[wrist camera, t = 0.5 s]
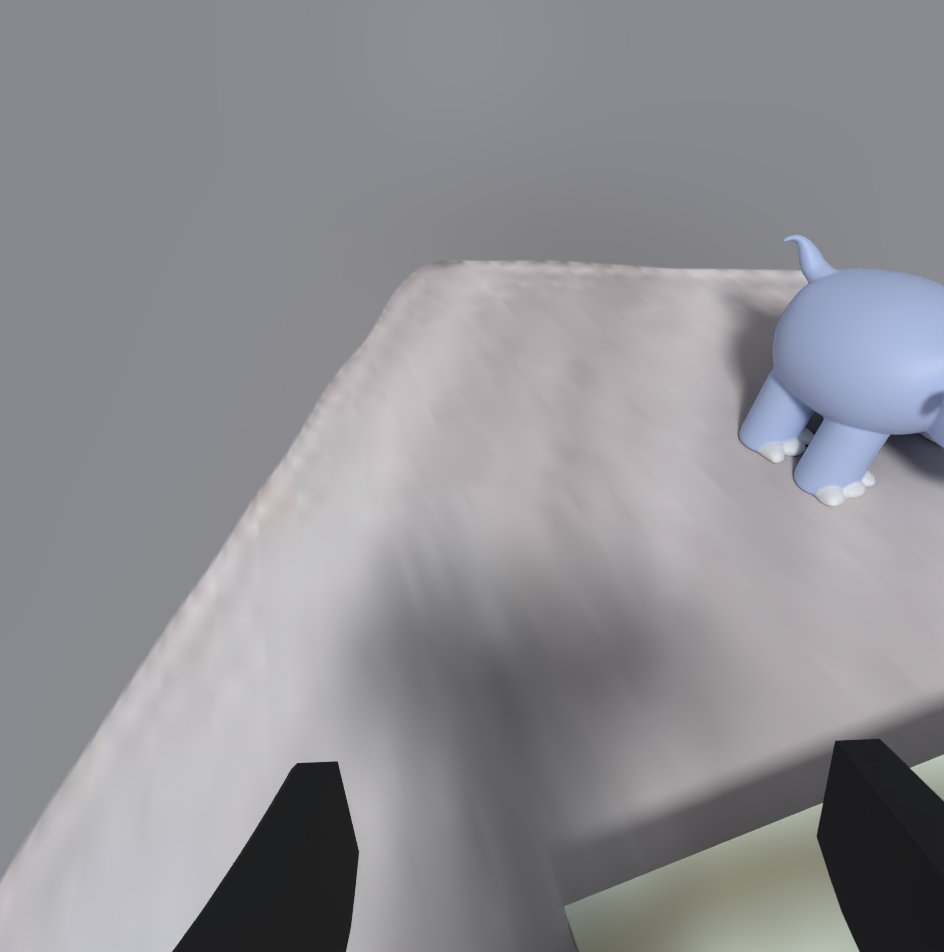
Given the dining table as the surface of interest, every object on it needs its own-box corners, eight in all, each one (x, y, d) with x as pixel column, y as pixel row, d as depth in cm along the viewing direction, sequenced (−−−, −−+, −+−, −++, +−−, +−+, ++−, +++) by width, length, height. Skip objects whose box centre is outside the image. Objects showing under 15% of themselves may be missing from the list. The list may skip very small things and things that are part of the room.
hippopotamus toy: (926, 586, 33) (995, 422, 26) (700, 415, 43) (710, 267, 36) (1093, 483, 35) (1194, 310, 28) (842, 345, 45) (874, 195, 39)
